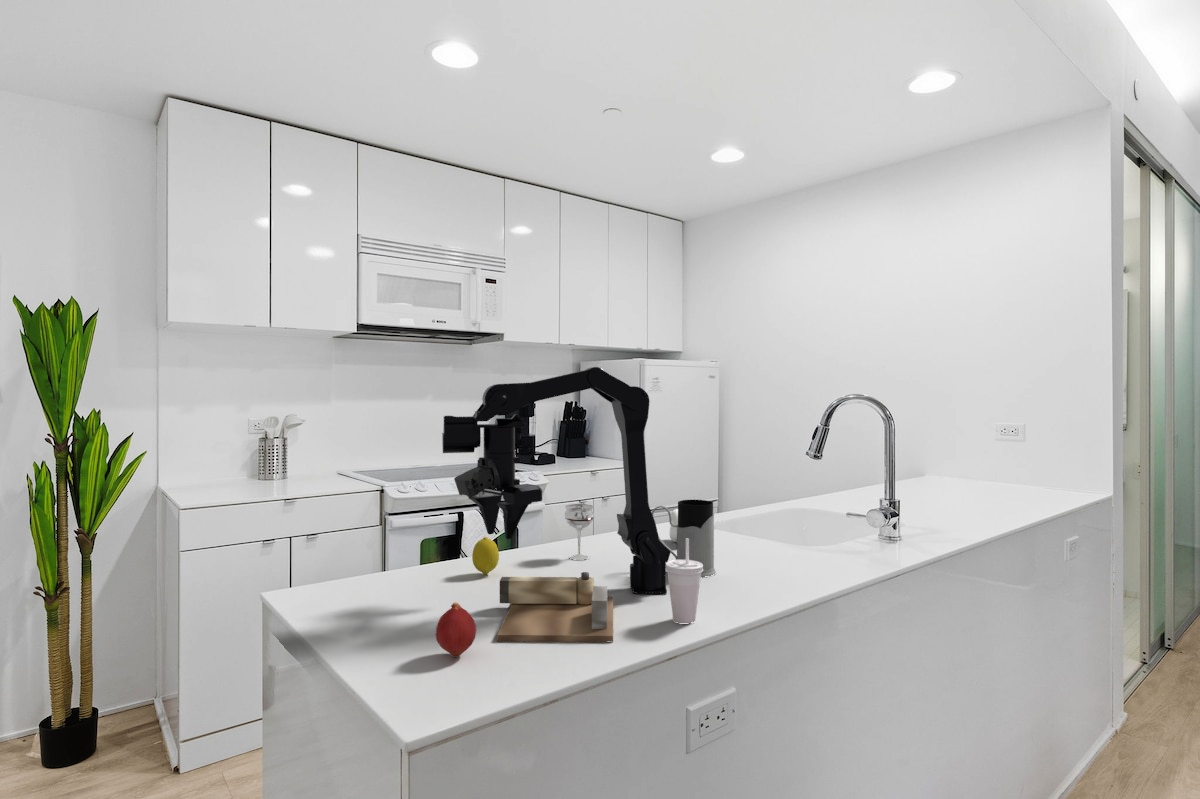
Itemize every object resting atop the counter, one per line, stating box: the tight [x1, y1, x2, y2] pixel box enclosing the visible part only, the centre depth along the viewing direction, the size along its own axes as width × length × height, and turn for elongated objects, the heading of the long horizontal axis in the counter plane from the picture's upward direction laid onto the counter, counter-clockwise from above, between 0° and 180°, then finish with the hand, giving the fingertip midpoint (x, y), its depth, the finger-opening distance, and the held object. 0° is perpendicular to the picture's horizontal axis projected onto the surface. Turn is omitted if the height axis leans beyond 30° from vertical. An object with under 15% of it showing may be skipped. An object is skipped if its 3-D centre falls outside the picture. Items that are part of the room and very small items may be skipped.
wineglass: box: [564, 503, 595, 561], centre depth 159 cm, size 7×7×12 cm
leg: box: [499, 576, 595, 604], centre depth 122 cm, size 17×3×4 cm, turn 89°
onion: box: [435, 602, 477, 658], centre depth 100 cm, size 6×6×8 cm
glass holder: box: [651, 499, 717, 578], centre depth 147 cm, size 9×14×15 cm, turn 68°
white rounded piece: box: [669, 508, 716, 543], centre depth 173 cm, size 11×12×9 cm
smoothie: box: [665, 538, 703, 623], centre depth 115 cm, size 6×6×14 cm
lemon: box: [471, 536, 500, 576], centre depth 144 cm, size 6×6×8 cm
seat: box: [496, 571, 614, 643], centre depth 116 cm, size 18×20×6 cm
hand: (499, 536), depth 126 cm, fingers open, 5 cm apart
